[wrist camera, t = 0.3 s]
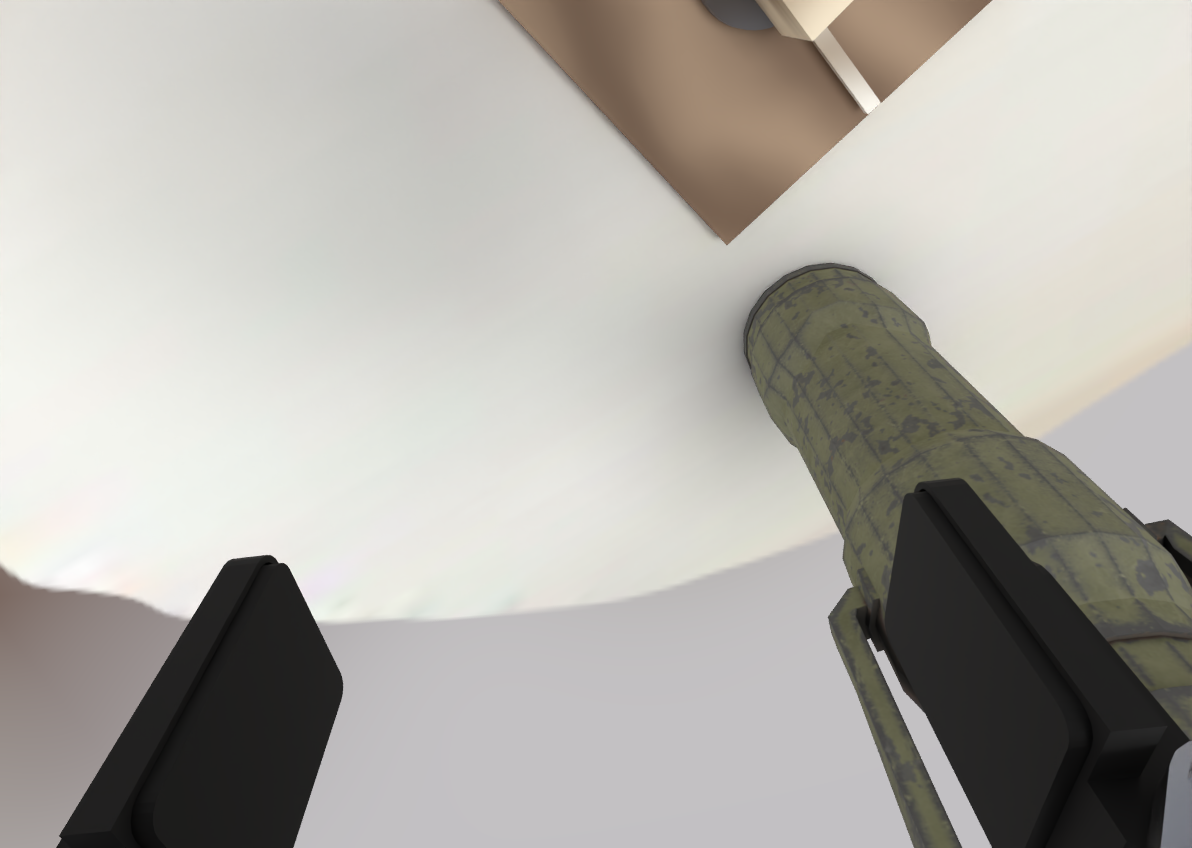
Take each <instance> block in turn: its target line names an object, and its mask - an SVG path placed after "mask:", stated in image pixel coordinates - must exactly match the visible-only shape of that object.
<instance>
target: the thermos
mask: <svg viewBox="0 0 1192 848" xmlns="http://www.w3.org/2000/svg"><path fill="white" fill-rule="evenodd" d="M744 353H745V356H746V358H747V361H748V363H749V366H750V369H751V374H752V376H753V379H754V381H755V384H756V387H757V389H758V392H759V394H760V396H761V398H762V400H763V402H764V404H765V406H766V409H767V411H768V413H769V415H770V417H771V419H772V420H773V421H774V423H775V424H776V425H777V427H778V428H779V429H780V431H781V432H782V433H783V434H784V436H785V437H786V438H787V440H788V441H789V442H790V444H792V445H793V446H795V447H797V448H798V450H799V452H800V454H801V456H802V458H803V460H804V462H805V464H806V466H807V468H808V470H809V472H810V474H811V476H812V478H813V480H814V482H815V484H816V486H817V488H818V489H819V491H820V493H821V495H822V497H823V499H824V501H825V503H826V505H827V507H828V509H829V511H830V513H831V515H832V517H833V519H834V521H835V523H836V525H837V527H838V529H839V531H840V533H841V535H842V537H843V539H844V549H843V561H844V564H845V566H846V569H847V572H848V574H849V577H850V580H851V582H852V584H853V586H854V587H852V588H849V589H847V591H846V592H845V594H844V595H843V596H842V598H841V599H840V601H839V602H838V603H837V605H836V606H835V608H834V609H833V611H832V612H831V613H830V615H829V616H828V619H829V624H830V629H831V633H832V636H833V638H834V641H835V643H836V646H837V649H838V651H839V653H840V656H841V658H842V660H843V663H844V665H845V667H846V669H847V672H848V674H849V676H850V678H851V681H852V683H853V685H854V688H855V690H856V692H857V695H858V698H859V700H860V703H861V706H862V709H863V711H864V714H865V717H866V719H867V722H868V725H869V727H870V730H871V733H872V736H873V738H874V741H875V744H876V746H877V749H878V752H879V754H880V757H881V760H882V762H883V765H884V768H885V771H886V773H887V776H888V778H889V781H890V784H891V787H892V789H893V792H894V795H895V798H896V800H897V803H898V806H899V808H900V811H901V813H902V816H903V819H904V822H905V824H906V827H907V830H908V833H909V835H910V838H911V841H912V843H913V846H914V848H962V846H961V844H960V842H959V840H958V838H957V835H956V834H955V831H954V829H953V827H952V825H951V822H950V820H949V818H948V816H947V814H946V811H945V809H944V807H943V805H942V803H941V801H940V798H939V797H938V794H937V792H936V790H935V787H934V785H933V783H932V781H931V779H930V777H929V774H928V772H927V770H926V768H925V766H924V763H923V761H922V759H921V757H920V755H919V752H918V750H917V748H916V746H915V744H914V742H913V739H912V737H911V735H910V733H909V731H908V729H907V726H906V724H905V722H904V720H903V718H902V715H901V713H900V711H899V709H898V707H897V705H896V702H895V700H894V698H893V696H892V694H891V691H890V689H889V687H888V685H887V683H886V681H885V678H884V676H883V674H882V672H881V670H880V668H879V665H878V663H877V661H876V659H875V656H874V654H873V652H872V650H871V648H870V646H869V644H868V641H867V639H870V638H871V640H872V642H873V644H874V646H875V648H876V650H877V652H879V651H882V650H884V651H885V653H886V655H887V657H888V659H889V661H890V664H891V666H892V668H893V670H894V672H895V674H896V676H897V678H898V680H899V682H900V684H901V686H902V689H903V691H904V692H905V693H906V694H907V695H908V696H909V697H910V698H911V699H912V700H913V701H914V702H915V703H916V704H917V705H918V706H919V707H920V708H921V709H922V711H923V712H924V710H923V708H922V706H921V704H920V702H919V700H918V698H917V696H916V694H915V692H914V690H913V688H912V686H911V684H910V682H909V680H908V678H907V676H906V674H905V672H904V670H903V668H902V666H901V664H900V662H899V660H898V658H897V656H896V654H895V652H894V650H893V648H892V646H891V644H890V642H889V639H888V636H887V633H886V629H885V621H884V619H885V611H886V604H887V598H888V592H889V586H890V579H891V573H892V567H893V560H894V554H895V548H896V542H897V535H898V529H899V523H900V517H901V510H902V504H903V499H904V496H905V495H906V494H907V493H913V492H914V490H915V487H916V485H917V484H918V483H919V482H923V481H932V480H941V479H950V478H961V479H963V480H965V481H966V482H967V483H968V484H969V486H970V487H971V488H972V489H973V490H974V492H975V493H976V494H977V495H978V496H979V498H980V499H981V500H982V501H983V503H984V504H985V505H986V506H987V507H988V509H989V510H990V511H991V512H992V513H993V515H994V516H995V517H996V518H997V520H998V521H999V522H1000V523H1001V524H1002V526H1003V527H1004V528H1005V529H1006V530H1007V532H1008V533H1009V534H1010V535H1011V537H1012V538H1013V539H1014V540H1015V541H1016V543H1017V544H1018V545H1019V546H1020V547H1021V549H1022V550H1023V551H1024V552H1025V554H1026V555H1027V556H1028V557H1029V558H1030V560H1031V561H1034V562H1036V563H1038V564H1040V565H1042V566H1043V567H1044V568H1045V569H1046V570H1047V571H1048V572H1049V573H1050V574H1051V575H1052V576H1053V577H1054V578H1055V579H1056V581H1057V582H1058V583H1059V584H1060V585H1061V587H1062V588H1063V589H1064V590H1065V591H1066V593H1067V594H1068V595H1069V596H1070V597H1071V599H1072V600H1073V601H1074V602H1075V603H1076V604H1077V606H1078V607H1079V608H1080V609H1081V610H1082V612H1083V613H1084V614H1085V615H1086V616H1087V618H1088V619H1089V620H1090V621H1091V622H1092V624H1093V625H1094V626H1095V627H1096V628H1097V630H1098V631H1099V632H1100V633H1101V634H1102V635H1103V637H1104V638H1105V639H1106V640H1107V641H1108V643H1109V644H1110V645H1111V646H1112V647H1113V649H1114V650H1115V651H1116V652H1117V653H1118V655H1119V656H1120V657H1121V658H1122V659H1123V661H1124V662H1125V663H1126V664H1127V665H1128V666H1129V668H1130V669H1131V670H1132V671H1133V672H1134V674H1135V675H1136V676H1137V677H1138V678H1139V680H1140V681H1141V682H1142V683H1143V684H1144V686H1145V687H1146V688H1147V689H1148V690H1149V692H1150V693H1151V694H1152V695H1153V696H1154V698H1155V699H1156V700H1157V701H1158V702H1159V703H1160V705H1161V706H1162V707H1163V708H1164V709H1165V711H1166V712H1167V713H1168V714H1169V715H1170V717H1171V718H1172V719H1173V720H1174V721H1175V723H1176V724H1177V725H1178V726H1179V727H1180V729H1181V730H1182V731H1183V732H1184V733H1185V734H1186V736H1187V737H1188V738H1189V739H1190V740H1191V741H1192V536H1190V535H1189V534H1188V533H1186V532H1185V531H1184V530H1182V529H1181V528H1179V527H1178V526H1177V525H1175V524H1174V523H1173V522H1171V521H1170V520H1163V521H1158V522H1153V523H1148V524H1145V525H1144V524H1143V523H1142V522H1141V521H1140V520H1139V519H1138V518H1137V517H1135V516H1134V515H1133V514H1132V513H1131V512H1130V511H1129V510H1128V509H1127V508H1124V509H1122V508H1121V507H1120V506H1119V505H1118V504H1116V502H1115V501H1114V500H1112V499H1111V498H1110V497H1109V496H1108V495H1107V494H1106V493H1105V492H1104V491H1103V490H1102V489H1101V488H1099V487H1098V486H1097V485H1096V484H1095V483H1094V482H1093V481H1092V480H1091V479H1090V478H1089V477H1088V476H1086V474H1084V473H1083V472H1082V471H1081V470H1080V469H1079V468H1078V467H1077V466H1076V465H1075V464H1074V463H1073V462H1072V461H1070V460H1069V459H1068V458H1067V457H1066V456H1065V455H1064V454H1062V453H1060V452H1058V451H1057V450H1055V449H1053V448H1051V447H1049V446H1047V445H1046V444H1044V443H1042V442H1040V441H1039V440H1037V439H1033V438H1029V437H1025V436H1023V435H1022V434H1021V433H1020V432H1019V431H1018V430H1017V429H1016V428H1015V427H1014V426H1013V425H1012V424H1011V423H1010V422H1009V421H1008V420H1007V419H1006V418H1005V417H1004V416H1003V415H1002V414H1001V413H1000V412H999V411H998V410H997V409H996V408H995V407H994V406H993V405H991V404H990V403H989V402H988V401H987V400H986V399H985V398H984V397H983V396H982V395H981V394H980V393H979V392H978V391H977V390H976V389H975V388H974V387H973V386H972V385H971V384H970V383H969V382H968V381H967V380H966V379H965V378H964V377H963V376H962V375H961V374H960V373H958V372H957V371H956V370H955V369H954V368H953V367H952V366H951V365H950V364H949V363H948V362H947V361H946V360H945V359H944V358H943V357H942V356H941V355H940V354H939V353H938V352H937V351H936V350H935V349H934V348H933V347H932V346H931V341H930V336H929V332H928V330H927V328H926V325H925V323H924V322H923V321H922V320H921V319H920V318H919V317H918V316H917V315H916V314H915V313H914V312H912V311H911V310H910V309H909V308H908V307H907V306H906V305H905V304H904V303H903V302H902V301H901V300H899V299H898V298H897V297H896V296H895V295H894V294H893V293H892V292H890V291H888V290H887V289H885V288H883V287H882V286H880V285H878V284H877V283H876V282H875V281H874V280H873V279H872V278H871V277H869V276H868V275H866V274H864V273H863V272H861V271H859V270H858V269H856V268H854V267H850V266H845V265H839V264H834V263H827V264H819V265H812V266H806V267H804V268H802V269H799V270H797V271H795V272H792V273H790V274H788V275H785V276H784V277H782V278H781V279H780V280H779V281H777V282H776V283H775V284H774V285H772V286H771V287H770V288H769V289H767V290H766V291H765V292H764V293H763V295H762V296H761V298H760V299H759V300H758V302H757V303H756V305H755V306H754V307H753V309H752V310H751V312H750V315H749V318H748V321H747V324H746V327H745V330H744ZM924 713H925V712H924Z"/></svg>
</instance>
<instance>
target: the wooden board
mask: <svg viewBox="0 0 1192 848" xmlns="http://www.w3.org/2000/svg"><path fill="white" fill-rule="evenodd" d="M498 1H499V2H500V3H501V4H502V5H503V6H504V7H505V8H506V9H507V10H508V11H509V12H510V13H511V15H512V16H513V17H514V18H515V19H516V20H517V21H518V22H519V23H520V24H521V25H522V26H523V27H524V28H525V30H526V31H527V32H528V33H529V34H530V35H531V36H532V37H533V38H534V39H535V40H536V41H537V42H538V43H539V45H540V46H541V47H542V48H543V49H544V50H545V51H546V52H547V53H548V54H549V55H550V56H551V57H552V58H553V60H554V61H555V62H556V63H557V64H558V65H559V66H560V67H561V68H562V69H563V70H564V71H565V72H566V73H567V75H568V76H569V77H570V78H571V79H572V80H573V81H574V82H575V83H576V84H577V85H578V86H579V87H580V88H581V90H582V91H583V92H584V93H585V94H586V95H587V96H588V97H589V98H590V99H591V100H592V101H593V102H594V103H595V105H596V106H597V107H598V108H599V109H600V110H601V111H602V112H603V113H604V114H605V115H606V116H607V117H608V118H609V120H610V121H611V122H612V123H613V124H614V125H615V126H616V127H617V128H618V129H619V130H620V131H621V132H622V133H623V135H624V136H625V137H626V138H627V139H628V140H629V141H630V142H631V143H632V144H633V145H634V146H635V147H636V148H637V150H638V151H639V152H640V153H641V154H642V155H643V156H644V157H645V158H646V159H647V160H648V161H649V162H650V163H651V165H652V166H653V167H654V168H655V169H656V170H657V171H658V172H659V173H660V174H661V175H662V176H663V177H664V178H665V180H666V181H667V182H668V183H669V184H670V185H671V186H672V187H673V188H674V189H675V190H676V191H677V192H678V193H679V195H680V196H681V197H682V198H683V199H684V200H685V201H686V202H687V203H688V204H689V205H690V206H691V207H692V208H693V210H694V211H695V212H696V213H697V214H698V215H699V216H700V217H701V218H702V219H703V220H704V221H705V222H706V223H707V225H708V226H709V227H710V228H711V229H712V230H713V231H714V232H715V233H716V234H717V235H718V236H719V237H720V238H721V240H722V241H723V242H724V243H725V244H726V245H728V244H729V243H730V242H731V241H732V240H733V239H734V238H735V237H736V236H738V235H739V234H740V233H741V232H742V231H743V230H744V229H745V228H746V227H747V226H748V225H749V224H751V223H752V222H753V221H754V220H755V219H756V218H757V217H758V216H759V215H760V214H761V213H762V212H764V211H765V210H766V209H767V208H768V207H769V206H770V205H771V204H772V203H773V202H774V201H775V200H776V199H778V198H779V197H780V196H781V195H782V194H783V193H784V192H785V191H786V190H787V189H788V188H789V187H791V186H792V185H793V184H794V183H795V182H796V181H797V180H798V179H799V178H800V177H801V176H802V175H804V174H805V173H806V172H807V171H808V170H809V169H810V168H811V167H812V166H813V165H814V164H815V163H817V162H818V161H819V160H820V159H821V158H822V157H823V156H824V155H825V154H826V153H827V152H828V151H830V150H831V149H832V148H833V147H834V146H835V145H836V144H837V143H838V142H839V141H840V140H841V139H842V138H844V137H845V136H846V135H847V134H848V133H849V132H850V131H851V130H852V129H853V128H854V127H855V126H857V125H858V124H859V123H860V122H861V121H862V120H863V119H864V118H865V117H866V116H867V115H868V114H866V113H864V112H863V111H862V109H861V108H860V107H859V105H858V104H857V102H856V101H855V100H854V98H853V97H852V96H851V94H850V93H849V92H848V90H847V89H846V87H845V86H844V85H843V83H842V82H841V81H840V79H839V78H838V77H837V75H836V74H835V72H834V71H833V70H832V68H831V67H830V66H829V64H828V63H827V62H826V60H825V59H824V57H823V56H822V55H821V53H820V52H819V51H818V49H817V48H816V47H815V45H814V44H813V42H812V41H808V40H803V39H798V38H792V37H787V36H782V35H781V34H780V33H779V31H778V30H777V29H776V27H775V26H774V27H771V28H767V29H763V30H744V29H739V28H735V27H731V26H729V25H726V24H724V23H723V22H721V21H719V20H718V19H717V18H715V17H714V16H713V15H712V14H711V13H710V12H709V11H708V10H707V9H706V7H705V6H704V4H703V3H702V1H701V0H498ZM991 1H992V0H853V1H852V2H851V3H850V4H849V5H848V6H847V7H846V8H845V9H844V10H843V11H842V12H841V13H840V14H839V15H838V16H837V17H836V18H835V19H834V20H833V21H832V22H831V23H830V24H829V25H828V26H827V28H828V29H829V31H830V32H831V34H832V35H833V36H834V38H835V39H836V41H837V42H838V43H839V45H840V46H841V48H842V49H843V50H844V52H845V53H846V55H847V56H848V57H849V59H850V60H851V62H852V63H853V64H854V66H855V67H856V69H857V70H858V71H859V73H860V74H861V76H862V77H863V78H864V80H865V81H866V82H867V84H868V85H869V87H870V88H871V89H872V91H873V92H874V94H875V95H876V96H877V98H878V99H879V101H880V102H883V101H884V100H885V99H886V98H887V97H888V96H889V95H890V94H891V93H892V92H893V91H894V90H896V89H897V88H898V87H899V86H900V85H901V84H902V83H903V82H904V81H905V80H906V79H907V78H909V77H910V76H911V75H912V74H913V73H914V72H915V71H916V70H917V69H918V68H919V67H920V66H921V65H923V64H924V63H925V62H926V61H927V60H928V59H929V58H930V57H931V56H932V55H933V54H934V53H936V52H937V51H938V50H939V49H940V48H941V47H942V46H943V45H944V44H945V43H946V42H947V41H949V40H950V39H951V38H952V37H953V36H954V35H955V34H956V33H957V32H958V31H959V30H960V29H962V28H963V27H964V26H965V25H966V24H967V23H968V22H969V21H970V20H971V19H972V18H973V17H975V16H976V15H977V14H978V13H979V12H980V11H981V10H982V9H983V8H984V7H985V6H986V5H988V4H989V3H990V2H991ZM873 110H874V109H873ZM873 110H872V111H873ZM872 111H871V112H872ZM871 112H870V113H871ZM870 113H869V114H870Z"/></svg>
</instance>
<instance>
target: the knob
mask: <svg viewBox="0 0 1192 848" xmlns="http://www.w3.org/2000/svg"><path fill="white" fill-rule="evenodd" d="M701 1H702V3H703V4H704V6H705V7H706V9H707V10H708V11H709V12H710V13H711V14H712V15H713V16H714V17H715V18H717V19H718V20H719V21H721V22H723V23H724V24H726V25H729V26H731V27H735V28H739V29H744V30H763V29H767V28H771V27H774V26H775V27H776V29H777V30H778V31H779V33H780V34H781V35H782V36H787V37H792V38H798V39H803V40H808V41H812V42H813V44H814V45H815V47H816V48H817V49H818V51H819V52H820V53H821V55H822V56H823V57H824V59H825V60H826V62H827V63H828V64H829V66H830V67H831V68H832V70H833V71H834V72H835V74H836V75H837V77H838V78H839V79H840V81H841V82H842V83H843V85H844V86H845V87H846V89H847V90H848V92H849V93H850V94H851V96H852V97H853V98H854V100H855V101H856V102H857V104H858V105H859V107H860V108H861V109H862V111H863V112H864V113H866V114H869V113H870V112H871V111H872V110H873V109H875V108H876V107H877V106H878V105H879V104H880V103H881V102H880V101H879V99H878V98H877V96H876V95H875V94H874V92H873V91H872V89H871V88H870V87H869V85H868V84H867V82H866V81H865V80H864V78H863V77H862V76H861V74H860V73H859V71H858V70H857V69H856V67H855V66H854V64H853V63H852V62H851V60H850V59H849V57H848V56H847V55H846V53H845V52H844V50H843V49H842V48H841V46H840V45H839V43H838V42H837V41H836V39H835V38H834V36H833V35H832V34H831V32H830V31H829V29H828V28H827V26H828V25H829V24H830V23H831V22H832V21H833V20H834V19H835V18H836V17H837V16H838V15H839V14H840V13H841V12H842V11H843V10H844V9H845V8H846V7H847V6H848V5H849V4H850V3H851V2H852V1H853V0H701Z"/></svg>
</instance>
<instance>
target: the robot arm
mask: <svg viewBox="0 0 1192 848" xmlns="http://www.w3.org/2000/svg"><path fill="white" fill-rule="evenodd" d="M884 621H885V629H886V633H887V636H888V639H889V642H890V644H891V646H892V648H893V650H894V652H895V654H896V656H897V658H898V660H899V662H900V664H901V666H902V668H903V670H904V672H905V674H906V676H907V678H908V680H909V682H910V684H911V686H912V688H913V690H914V692H915V694H916V696H917V698H918V700H919V702H920V704H921V706H922V708H923V710H924V712H925V714H926V716H927V718H928V720H929V722H930V724H931V726H932V728H933V730H934V732H935V734H936V736H937V738H938V740H939V742H940V744H941V746H942V748H943V750H944V752H945V754H946V756H947V758H948V760H949V762H950V764H951V766H952V768H953V770H954V772H955V774H956V776H957V778H958V780H959V782H960V784H961V786H962V788H963V790H964V792H965V794H966V796H967V798H968V800H969V802H970V804H971V806H972V808H973V810H974V812H975V814H976V816H977V818H978V820H979V822H980V824H981V826H982V828H983V830H984V832H985V834H986V836H987V838H988V840H989V842H990V844H991V846H992V848H1192V741H1191V740H1190V739H1189V738H1188V737H1187V736H1186V734H1185V733H1184V732H1183V731H1182V730H1181V729H1180V727H1179V726H1178V725H1177V724H1176V723H1175V721H1174V720H1173V719H1172V718H1171V717H1170V715H1169V714H1168V713H1167V712H1166V711H1165V709H1164V708H1163V707H1162V706H1161V705H1160V703H1159V702H1158V701H1157V700H1156V699H1155V698H1154V696H1153V695H1152V694H1151V693H1150V692H1149V690H1148V689H1147V688H1146V687H1145V686H1144V684H1143V683H1142V682H1141V681H1140V680H1139V678H1138V677H1137V676H1136V675H1135V674H1134V672H1133V671H1132V670H1131V669H1130V668H1129V666H1128V665H1127V664H1126V663H1125V662H1124V661H1123V659H1122V658H1121V657H1120V656H1119V655H1118V653H1117V652H1116V651H1115V650H1114V649H1113V647H1112V646H1111V645H1110V644H1109V643H1108V641H1107V640H1106V639H1105V638H1104V637H1103V635H1102V634H1101V633H1100V632H1099V631H1098V630H1097V628H1096V627H1095V626H1094V625H1093V624H1092V622H1091V621H1090V620H1089V619H1088V618H1087V616H1086V615H1085V614H1084V613H1083V612H1082V610H1081V609H1080V608H1079V607H1078V606H1077V604H1076V603H1075V602H1074V601H1073V600H1072V599H1071V597H1070V596H1069V595H1068V594H1067V593H1066V591H1065V590H1064V589H1063V588H1062V587H1061V585H1060V584H1059V583H1058V582H1057V581H1056V579H1055V578H1054V577H1053V576H1052V575H1051V574H1050V573H1049V572H1048V571H1047V570H1046V569H1045V568H1044V567H1043V566H1042V565H1040V564H1038V563H1036V562H1034V561H1031V560H1030V558H1029V557H1028V556H1027V555H1026V554H1025V552H1024V551H1023V550H1022V549H1021V547H1020V546H1019V545H1018V544H1017V543H1016V541H1015V540H1014V539H1013V538H1012V537H1011V535H1010V534H1009V533H1008V532H1007V530H1006V529H1005V528H1004V527H1003V526H1002V524H1001V523H1000V522H999V521H998V520H997V518H996V517H995V516H994V515H993V513H992V512H991V511H990V510H989V509H988V507H987V506H986V505H985V504H984V503H983V501H982V500H981V499H980V498H979V496H978V495H977V494H976V493H975V492H974V490H973V489H972V488H971V487H970V486H969V484H968V483H967V482H966V481H965V480H963V479H961V478H950V479H941V480H932V481H923V482H919V483H918V484H917V485H916V487H915V490H914V492H913V493H907V494H906V495H905V496H904V499H903V504H902V510H901V517H900V523H899V529H898V535H897V542H896V548H895V554H894V560H893V567H892V573H891V579H890V586H889V592H888V598H887V604H886V611H885V619H884ZM342 694H343V680H342V676H341V673H340V671H339V669H338V667H337V665H336V663H335V661H334V659H333V657H332V655H331V653H330V650H329V649H328V647H327V644H326V642H325V640H324V638H323V636H322V634H321V632H320V630H319V628H318V626H317V624H316V622H315V620H314V618H313V616H312V614H311V612H310V610H309V608H308V606H307V603H306V601H305V599H304V597H303V595H302V593H301V591H300V589H299V587H298V585H297V583H296V581H295V579H294V577H293V575H292V573H291V571H290V569H289V567H288V566H287V565H286V564H284V563H278V562H277V560H276V559H275V558H274V557H273V556H271V555H263V556H255V557H246V558H237V559H231V560H229V561H228V562H227V563H226V564H225V565H224V566H223V568H222V569H221V571H220V573H219V574H218V576H217V578H216V579H215V581H214V583H213V584H212V586H211V587H210V589H209V591H208V592H207V594H206V596H205V597H204V599H203V601H202V602H201V604H200V606H199V607H198V609H197V610H196V612H195V614H194V615H193V617H192V619H191V620H190V622H189V624H188V625H187V627H186V628H185V630H184V632H183V633H182V635H181V637H180V638H179V640H178V642H177V644H176V645H175V647H174V648H173V650H172V651H171V653H170V655H169V656H168V658H167V660H166V661H165V663H164V665H163V666H162V668H161V670H160V671H159V673H158V674H157V676H156V678H155V680H154V681H153V683H152V684H151V686H150V688H149V689H148V691H147V693H146V694H145V696H144V698H143V699H142V701H141V702H140V704H139V706H138V707H137V709H136V711H135V712H134V714H133V715H132V717H131V719H130V721H129V722H128V724H127V725H126V727H125V729H124V730H123V732H122V734H121V735H120V737H119V738H118V740H117V742H116V743H115V745H114V747H113V749H112V750H111V752H110V753H109V755H108V757H107V758H106V760H105V762H104V763H103V765H102V766H101V768H100V770H99V772H98V773H97V775H96V776H95V778H94V780H93V781H92V783H91V784H90V786H89V788H88V790H87V791H86V793H85V794H84V796H83V798H82V799H81V801H80V802H79V804H78V806H77V807H76V809H75V811H74V813H73V814H72V816H71V817H70V819H69V821H68V822H67V824H66V826H65V827H64V829H63V830H62V832H61V834H60V835H59V836H60V837H61V838H62V839H61V841H60V843H59V844H58V846H57V847H56V848H293V847H294V844H295V841H296V837H297V834H298V831H299V828H300V825H301V822H302V819H303V816H304V813H305V810H306V807H307V804H308V801H309V798H310V795H311V791H312V788H313V785H314V782H315V779H316V776H317V773H318V770H319V767H320V764H321V761H322V758H323V755H324V751H325V748H326V745H327V742H328V739H329V736H330V733H331V730H332V727H333V724H334V721H335V718H336V715H337V711H338V708H339V705H340V702H341V699H342Z"/></svg>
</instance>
